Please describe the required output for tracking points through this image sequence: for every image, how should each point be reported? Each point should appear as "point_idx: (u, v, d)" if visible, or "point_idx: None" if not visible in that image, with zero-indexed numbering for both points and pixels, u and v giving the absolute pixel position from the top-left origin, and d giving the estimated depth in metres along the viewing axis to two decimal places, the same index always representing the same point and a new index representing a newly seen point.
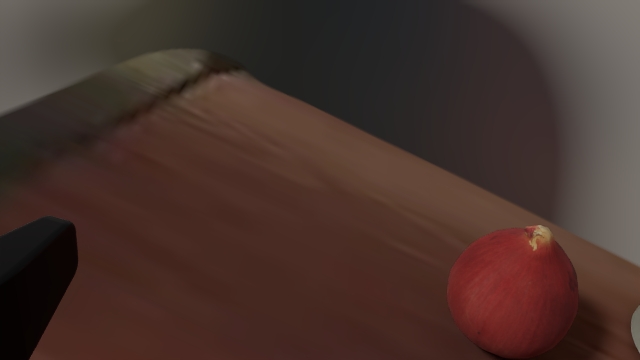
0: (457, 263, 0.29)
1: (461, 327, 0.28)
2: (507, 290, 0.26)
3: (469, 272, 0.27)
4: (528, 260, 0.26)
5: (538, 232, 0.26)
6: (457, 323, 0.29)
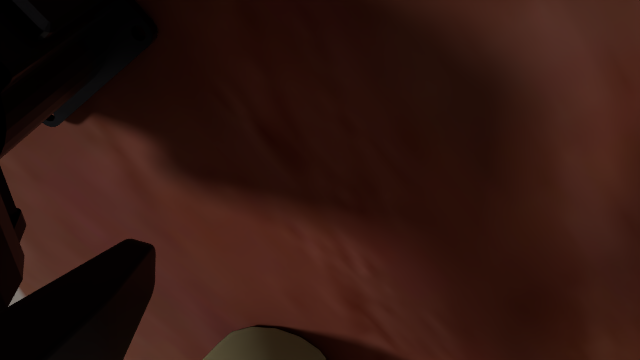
0: None
1: None
2: None
3: None
4: None
5: None
6: None
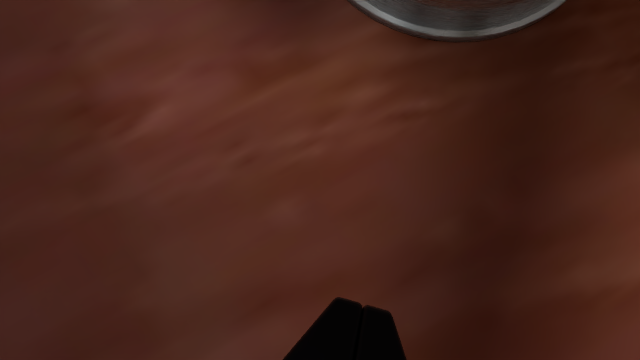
0: None
1: None
2: None
3: None
4: None
5: None
6: None
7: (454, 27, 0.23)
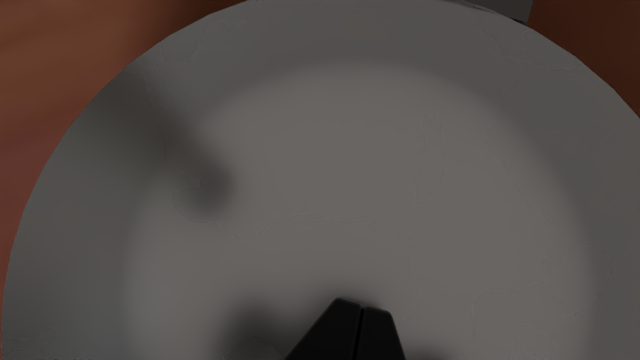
0: None
1: None
2: None
3: None
4: None
5: None
6: None
7: None
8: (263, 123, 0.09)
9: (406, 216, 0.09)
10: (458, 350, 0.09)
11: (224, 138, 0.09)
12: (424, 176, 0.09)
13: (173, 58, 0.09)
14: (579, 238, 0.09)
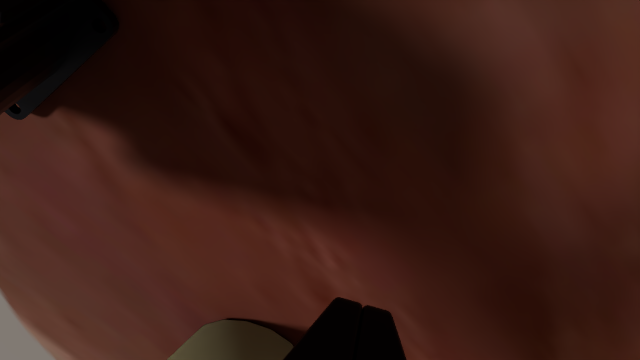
0: None
1: None
2: None
3: None
4: None
5: None
6: None
7: None
8: None
9: None
10: None
11: None
12: None
13: None
14: None
